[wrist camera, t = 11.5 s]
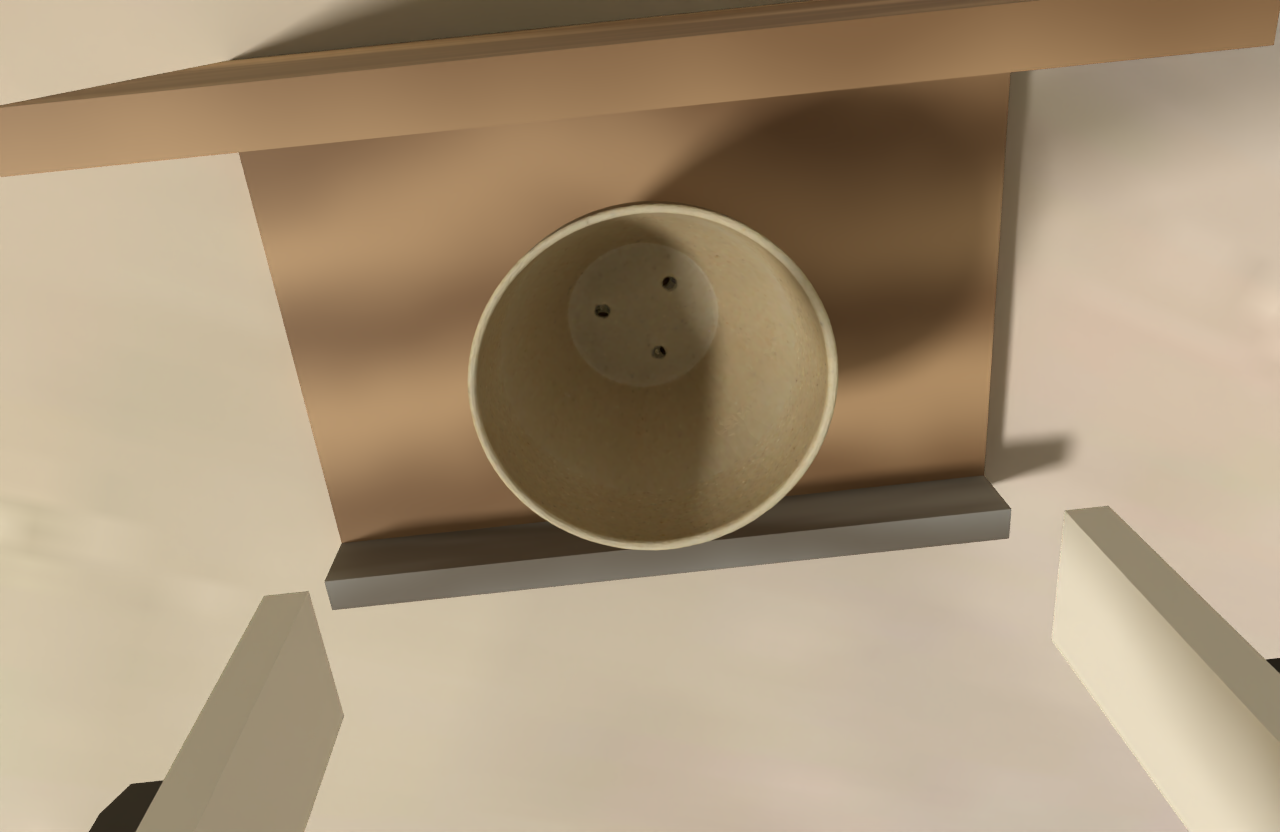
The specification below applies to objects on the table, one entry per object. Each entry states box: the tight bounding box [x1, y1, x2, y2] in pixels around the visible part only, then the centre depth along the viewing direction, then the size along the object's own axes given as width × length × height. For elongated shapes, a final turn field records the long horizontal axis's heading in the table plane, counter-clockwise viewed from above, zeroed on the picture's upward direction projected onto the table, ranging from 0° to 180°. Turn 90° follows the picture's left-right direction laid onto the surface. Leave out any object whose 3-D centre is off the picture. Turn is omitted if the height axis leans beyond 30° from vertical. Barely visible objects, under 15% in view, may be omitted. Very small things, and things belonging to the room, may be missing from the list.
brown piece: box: [0, 0, 1280, 610], centre depth 27 cm, size 18×24×13 cm
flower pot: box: [468, 201, 838, 550], centre depth 29 cm, size 10×10×7 cm
